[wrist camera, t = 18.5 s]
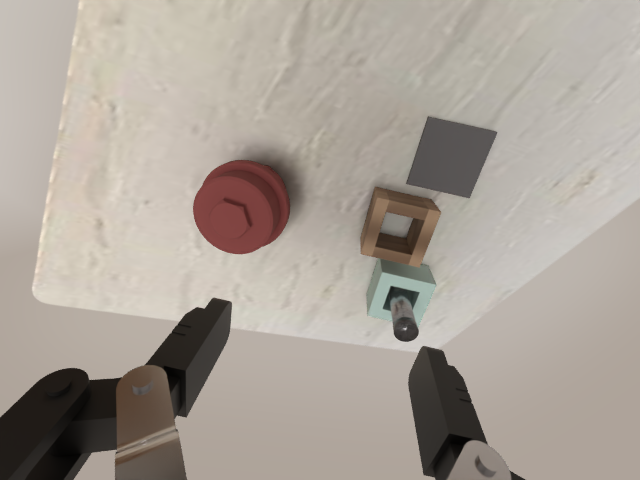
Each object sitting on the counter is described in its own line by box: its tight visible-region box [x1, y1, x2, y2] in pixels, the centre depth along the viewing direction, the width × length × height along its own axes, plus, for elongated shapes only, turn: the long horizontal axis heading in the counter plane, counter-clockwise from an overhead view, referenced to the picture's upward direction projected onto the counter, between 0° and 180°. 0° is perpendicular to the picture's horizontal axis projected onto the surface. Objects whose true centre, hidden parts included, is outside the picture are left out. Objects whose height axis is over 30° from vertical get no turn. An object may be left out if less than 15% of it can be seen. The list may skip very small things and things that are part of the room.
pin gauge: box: [388, 286, 419, 342], centre depth 39 cm, size 3×3×11 cm
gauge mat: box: [406, 117, 497, 198], centre depth 37 cm, size 8×8×1 cm
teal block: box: [367, 258, 436, 327], centre depth 42 cm, size 7×7×5 cm
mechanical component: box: [193, 160, 290, 254], centre depth 36 cm, size 12×10×10 cm
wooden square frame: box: [361, 187, 441, 268], centre depth 38 cm, size 7×7×5 cm
